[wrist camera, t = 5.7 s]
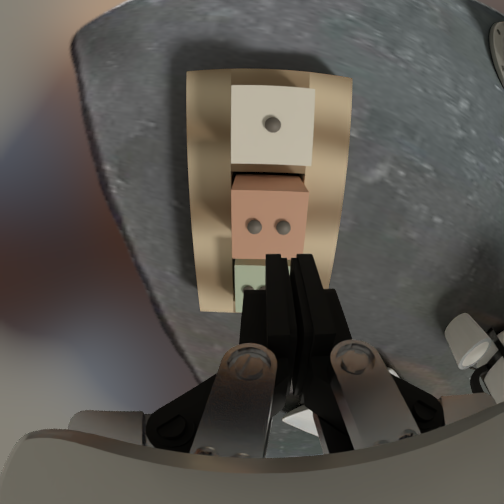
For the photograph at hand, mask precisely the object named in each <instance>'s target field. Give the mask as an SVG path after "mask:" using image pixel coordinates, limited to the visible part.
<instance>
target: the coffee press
mask: <svg viewBox="0 0 504 504" xmlns="http://www.w3.org/2000/svg"><path fill="white" fill-rule="evenodd" d="M487 334H488V335H489V337H490V338H491V340H492V342H491V346H490V348H489V350H488V351H487V352H486V354H485V355H484V356H483V357H482V358H481V359H480V360H479V361H478V362H477V369H476V368H474V367H469V368H470V369H473V370H475V371H474V373H473V374H472V376H471V379H470V385H471V389H472V392H473V394H474V393H484V391H483V389H482V387H481V385H480V382H479V377H481V379H482V380H483V382H484V384H485V386H486V388H487V390H488V392H489V391H490V392H489V394H490V393H491V394H490V395H492V397H493V398H494V399H495V401H496V404H498V403H501V402H504V331H502V332H501V333H499V334H498V335H496V333H495V331H494V330H493V328H491V329H490V330H489V331H488V332H487Z"/></svg>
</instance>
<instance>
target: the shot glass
mask: <svg viewBox="0 0 504 504" xmlns="http://www.w3.org/2000/svg"><path fill="white" fill-rule="evenodd" d="M445 338H446V340H447V342H448V344H449V346H450V349H451V351H452V353H453V355H454V358H455V360H456V362H457V365H458V367H459V368H460V369H466V368H469V367H471V366H472V365H474V364H475V363H477V362H478V361H479V360H480V359H481V358H482V357H483V356H484V355H485V354H486V352H487V351H488V350H489V348H490V346H491V342H492V340H491V338H490V337H489V336H488V335H487V334H486V333H485V332H484V330H483V329H482V328H481V327H480V326H479V325H478V324H477V323H476V322H475V320H474V319H473V318H472V317H471V316H470V315H469V314H468V313H463V314H460V315H458V316H457V317H455V318H454V319H453V320H452V321H451V322H450V323H449V325H448V326H447V327H446V330H445Z"/></svg>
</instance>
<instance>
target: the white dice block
mask: <svg viewBox="0 0 504 504" xmlns="http://www.w3.org/2000/svg"><path fill="white" fill-rule="evenodd" d="M314 110H315V89H310V88H300V87H287V86H267V85H231V164H279V165H299V166H311V163H312V148H313V131H314Z"/></svg>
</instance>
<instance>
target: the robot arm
mask: <svg viewBox="0 0 504 504" xmlns="http://www.w3.org/2000/svg"><path fill="white" fill-rule="evenodd" d="M489 42H490V50H491V54H492V59H493V62H494V65H495V68H496V71H497V74H498V76H499V78H500V80H501V83H502V85H503V86H504V22H497V23H495V24H493V25H492V27H491V29H490V34H489ZM291 380H292V385H293V394H294V395H299V399H300V403H304V404H305V407H307V408H308V409H309V410H311V411H312V412H313V419H314V423H315V426H316V429H317V433H318V436H319V440H320V443H321V446H322V450H323V453H324V455H315V456H304V457H288V458H266V452H267V447H268V441H269V436H270V430H271V424H272V417H273V416H275V415H276V414H277V413H278V412H279V411H280V410H282V409H283V408H284V406H285V399H286V395H289V392H290V386H291ZM0 504H504V402H501V403H498V404H496V401H495V399H494V398H493V397H492V396H491V395H489V394H487V393H474V394H463V395H450V396H441V397H440V398H439V399H437V398H435V397H434V396H432V395H431V394H429V393H427V392H425V391H423V390H421V389H419V388H417V387H415V386H413V385H412V384H410V383H408V382H406V381H404V380H402V379H400V378H398V377H397V376H395V375H393V374H391V373H390V372H389V370H388V369H387V367H386V365H385V363H384V361H383V360H382V358H381V356H380V354H379V353H378V351H377V350H376V349H375V348H374V347H373V346H372V345H370V344H369V343H366V342H364V341H361V340H355V339H353V340H352V337H351V334H350V331H349V328H348V325H347V322H346V319H345V316H344V313H343V310H342V307H341V304H340V301H339V299H338V296H337V293H336V291H335V289H323V286H322V283H321V279H320V276H319V273H318V270H317V267H316V264H315V260H314V257H313V255H312V254H297V255H296V258H291V263H290V275H289V269H288V263H287V258H281V254H266V260H265V290H244V294H243V306H242V317H241V329H240V341H239V345H236V346H234V347H232V348H230V349H229V350H228V351H227V352H226V353H225V354H224V356H223V358H222V360H221V363H220V366H219V369H218V371H217V373H216V374H215V375H213V376H212V377H210V378H209V379H207V380H206V381H204V382H202V383H201V384H199V385H198V386H196V387H195V388H193V389H191V390H190V391H188V392H186V393H185V394H183V395H182V396H180V397H178V398H176V399H175V400H173V401H171V402H170V403H168V404H166V405H165V406H163V407H161V408H159V409H158V410H157V411H155V412H154V413H153V414H144V413H143V412H142V411H94V410H85V411H80V412H78V413H76V414H75V415H74V416H73V417H72V418H71V420H70V423H69V426H68V429H43V430H38V431H33V432H30V433H28V434H26V435H24V436H23V437H21V438H20V439H19V441H18V442H17V443H16V444H15V446H14V447H13V449H12V451H11V453H10V454H9V456H8V458H7V461H6V463H5V465H4V467H3V470H2V472H1V475H0Z"/></svg>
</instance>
